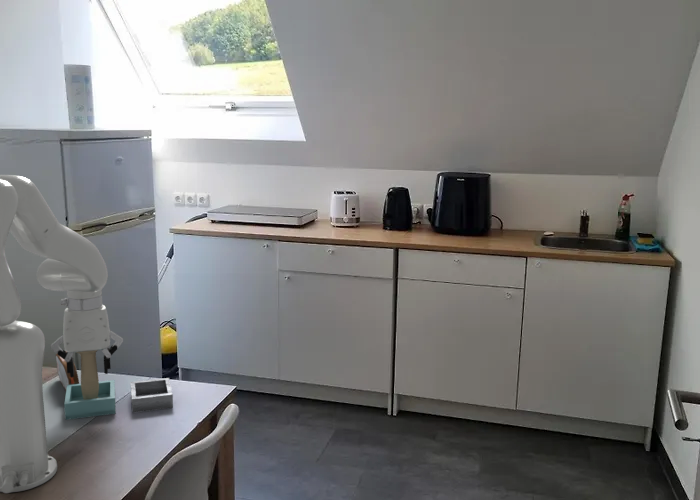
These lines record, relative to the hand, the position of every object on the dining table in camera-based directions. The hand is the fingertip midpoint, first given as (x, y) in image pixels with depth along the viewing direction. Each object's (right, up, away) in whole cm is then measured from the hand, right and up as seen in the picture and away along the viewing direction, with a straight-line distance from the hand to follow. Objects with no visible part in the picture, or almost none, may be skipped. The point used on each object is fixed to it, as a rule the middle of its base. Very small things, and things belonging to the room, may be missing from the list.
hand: (89, 373), depth 155 cm
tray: (0, -9, +2) cm, 9 cm away
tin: (-11, -6, +13) cm, 18 cm away
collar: (+13, -8, +6) cm, 17 cm away
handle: (0, -8, +2) cm, 8 cm away
